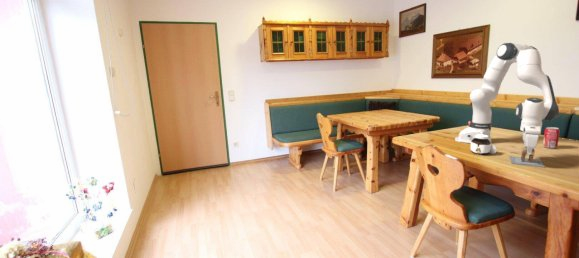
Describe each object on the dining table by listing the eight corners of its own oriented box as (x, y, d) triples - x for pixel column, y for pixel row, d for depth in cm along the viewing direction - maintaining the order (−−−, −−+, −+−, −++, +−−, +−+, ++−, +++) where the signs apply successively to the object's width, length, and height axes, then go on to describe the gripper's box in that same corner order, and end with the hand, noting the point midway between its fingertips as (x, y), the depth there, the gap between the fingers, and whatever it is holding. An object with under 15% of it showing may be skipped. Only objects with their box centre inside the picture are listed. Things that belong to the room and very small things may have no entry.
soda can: (560, 149, 178) (563, 129, 176) (546, 148, 180) (550, 129, 177) (552, 146, 185) (555, 126, 183) (539, 145, 187) (542, 126, 184)
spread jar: (468, 152, 180) (469, 134, 178) (479, 149, 185) (481, 132, 182) (487, 157, 170) (489, 138, 167) (499, 154, 174) (501, 136, 171)
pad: (511, 163, 157) (511, 162, 157) (509, 156, 168) (509, 156, 168) (544, 167, 149) (545, 166, 149) (540, 160, 161) (540, 159, 161)
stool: (521, 161, 158) (523, 149, 157) (520, 159, 162) (522, 147, 161) (533, 163, 155) (534, 150, 154) (531, 160, 159) (533, 148, 158)
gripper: (521, 123, 165) (518, 146, 168) (525, 130, 148) (522, 155, 151) (535, 124, 161) (532, 147, 164) (541, 131, 145) (537, 157, 148)
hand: (527, 151), depth 158 cm, fingers open, 8 cm apart
